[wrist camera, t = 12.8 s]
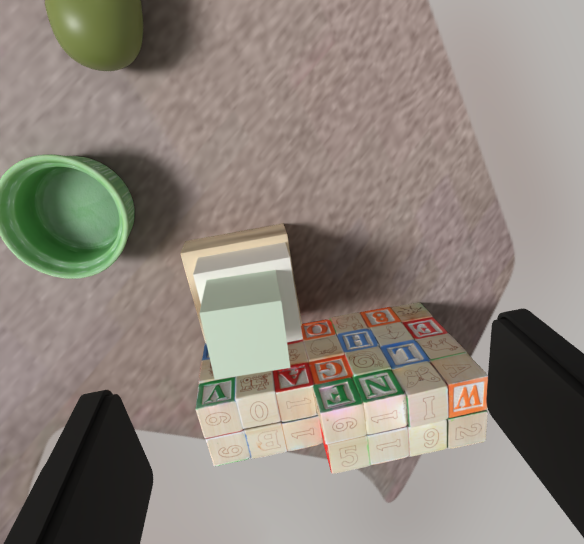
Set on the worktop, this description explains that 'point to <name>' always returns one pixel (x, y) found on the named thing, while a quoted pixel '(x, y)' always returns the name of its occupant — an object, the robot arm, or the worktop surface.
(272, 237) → the tower base
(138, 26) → the pear
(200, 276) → the tower top
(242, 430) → the stack of blocks
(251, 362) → the sage cube
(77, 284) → the worktop surface
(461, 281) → the worktop surface
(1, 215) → the ramekin
